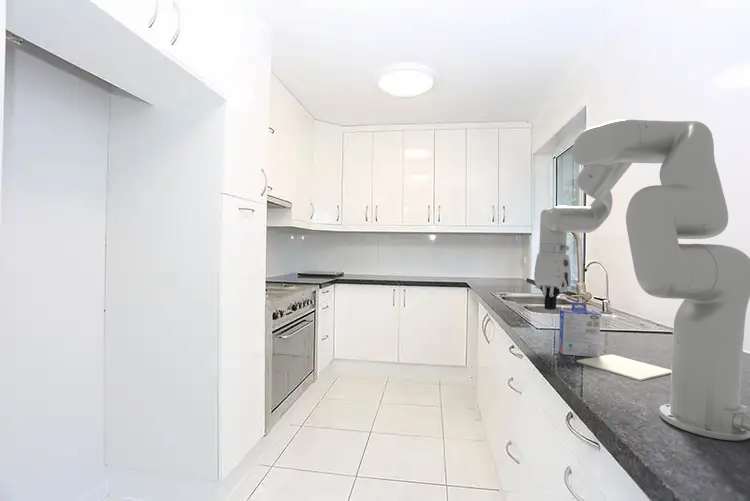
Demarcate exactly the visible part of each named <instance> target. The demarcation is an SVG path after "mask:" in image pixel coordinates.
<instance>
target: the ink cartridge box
mask: <svg viewBox="0 0 750 501" xmlns="http://www.w3.org/2000/svg"><path fill="white" fill-rule="evenodd" d="M577 306H581V307H577ZM601 316H602V315H601V314H600V312H597V311H591V310H587V307H586V303H585V302H573V301H572V302H571V310H567V309H559V338H558V339H559V340H558V343H559V344H558V351H559V353H560V354H561V355H563V356H565V355H566V356H579V357H580V356H581V357H589V358H593V357H599V356H600V338H601V318H602V317H601Z"/></svg>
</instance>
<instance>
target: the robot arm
mask: <svg viewBox="0 0 750 501" xmlns="http://www.w3.org/2000/svg"><path fill="white" fill-rule="evenodd" d="M714 145H715V143H714V138H713V134H712V131H711V129H710V128H709V127H708V125H706V124H705V123H703V122H701V121H696V120H694V121H693V120H683V121H681V120H680V121H679V120H677V121H674V120H673V121H672V120H670V121H669V120H644V119H616V120H611V121H608V122H605V123H602V124H597V125H595V126H592V127H588V128H587V129H584V130H583V131H582V132H581V133H580V134H578V136H577V137H576V139H575V140H574V143H573V145H572V149H571V156H572V159H573V161H574V162H575V163H576V164H577V165H580V166H583V168H582V170H581V171H580V172H579V174H578V175H577V178H576V183H577V186H578V187H579V189H580V190H581V191H582V192H583V193H584V194H586V195H587V196H589V197H590V198H592V199H594V200H593V201H592V202H591V204H590V205H589V206H577V205H576V206H574V205H572V206H571V205H557V206H553V207H551V208H546V209H545V208H544V209H542V211H541V213H540V218H539V220H540V221H539V222H540V224H539V243H538V244H539V247H538V253H537V255H536V260H535V266H534V273H533V274H534V276H533V278H534V284H535V288H536V289H538V290H540V291H541V292H542V295H543V297H544V304H543V305H544V310H548V311H551V310H556V309H557V297H559V296H560V294H562V293H566V292H568V290H569V289H568V287H570V286H571V282H572V272H571V271H572V269H571V261H570V255H569V254H567V252H568V251H569V250H570V247H569V245H567V233H576V234H578V233H579V234H589V233H592V232H596V230H598V229H599V228H600V227H601V226H602V224H604V223H605V221H606V220H607V219H608V217H609V216H610V214H611V212H612V208H613V202H614V201H613V194H612V189H613V188H614V187H615V186H616V185H617V183H618V182H619V180H620V179H621V178H622V177H623V175H624V174H625V173H626V172H627V170H629V168H630V166H631V165H632V164H633V163H634V164H661V166H660V169H659V181H660V185H657V184H655V185H648V186H645V187H643V188H641V189H639V190H638V191H636V192H635V193H634V194H633V196H632V197H631V199H630V200H629V203H628V204H627V208H626V213H625V223H626V230H627V238H628V242H629V248H630V252H631V253H630V254H631V258H632V264H633V269H634V273H635V278H636V280H637V282H638V284H639V286H640V287H641V289H642V290H643V292H645V293H646V294H647V295H650V296H652V297H653V298H654V297H655V298H659V299H671V300H673V299H678V300H683V301H682V302H681V304H680V305H679V308H677V311H676V314H675V315H674V320H673V331H672V346H671V347H672V348H671V350H672V351H671V368H670V370H671V374H670V392H669V394H670V395H669V403H665V404H662V405H660V407H659V408H658V414H659V417H661V419H662V420H664V421H665V423H668V424H670V425H671V426H673V427H675V428H679V429H681V430H682V431H686V432H689V433H692V434H695V435H699V436H702V437H707V438H711V439H716V440H722V441H723V440H724V441H745V440H748V439H750V414H749V413H748V406H747V405H744V404H741V390H742V371H743V354H744V353H743V351H744V350H743V349H744V340H745V339H744V338H745V327H746V326H745V324H746V317H747V316H746V315H747V310H748V305H749V301H750V257H749V256H748V255H747V254H746V253H745V252H743V251H742V250H739V249H738V248H735V247H732V246H728V245H724V244H711V243H709V244H708V243H707V244H706V243H679V240H705V239H711V238H715V237H716V236H719V235H720V234H722V233H723V232H724V231H726V229H727V227H728V224H729V212H728V211H729V210H728V206H727V202H726V198H725V195H724V194H725V193H724V191H723V190H724V189H723V186H722V182H721V178H720V174H719V171H718V168H717V164H716V160H715V147H714Z"/></svg>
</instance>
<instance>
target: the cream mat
mask: <svg viewBox="0 0 750 501" xmlns="http://www.w3.org/2000/svg"><path fill="white" fill-rule="evenodd" d="M576 362H577V363H580V364H583V365H587V366H590V367H593V368H596V369H600V370H604V371H607V372H609V373H613V374H616V375H619V376H622V377H625V378H629V379H632V380H636V381H640V382H641V381H645V380H650V379H654V378H658V377H662V376H666V375H671V369H669V368H664V367H661V366H658V365H654V364H649V363H646V362H643V361H638V360H634V359H631V358H627V357H623V356H619V355H616V354H606V355H599V357H589V358H587V357H586V358H583V359H578V360H576Z"/></svg>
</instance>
